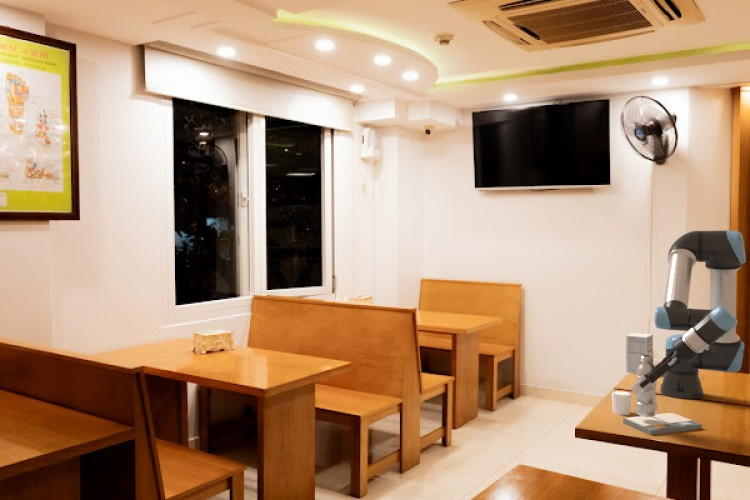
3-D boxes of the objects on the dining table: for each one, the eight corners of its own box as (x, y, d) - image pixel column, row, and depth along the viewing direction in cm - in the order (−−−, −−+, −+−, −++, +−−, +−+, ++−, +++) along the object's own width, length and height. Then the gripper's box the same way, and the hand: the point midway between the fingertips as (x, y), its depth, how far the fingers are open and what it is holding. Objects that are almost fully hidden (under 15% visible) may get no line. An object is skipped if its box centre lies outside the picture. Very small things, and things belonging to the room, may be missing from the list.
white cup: (633, 415, 220) (633, 396, 219) (612, 414, 221) (613, 395, 221) (629, 410, 226) (630, 390, 226) (609, 409, 228) (609, 390, 228)
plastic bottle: (631, 413, 212) (632, 354, 211) (651, 412, 212) (651, 353, 211) (641, 419, 205) (641, 358, 204) (661, 418, 206) (662, 357, 205)
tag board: (671, 417, 218) (671, 412, 218) (701, 428, 206) (701, 423, 205) (623, 422, 212) (623, 417, 212) (650, 435, 200) (650, 429, 200)
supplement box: (653, 371, 286) (654, 334, 286) (647, 375, 279) (648, 337, 279) (631, 368, 292) (632, 332, 292) (625, 372, 285) (625, 334, 285)
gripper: (697, 359, 192) (639, 405, 201) (701, 349, 208) (646, 392, 217) (678, 341, 194) (621, 387, 203) (683, 331, 211) (630, 374, 220)
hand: (634, 389), depth 210 cm, fingers closed on plastic bottle, 6 cm apart
